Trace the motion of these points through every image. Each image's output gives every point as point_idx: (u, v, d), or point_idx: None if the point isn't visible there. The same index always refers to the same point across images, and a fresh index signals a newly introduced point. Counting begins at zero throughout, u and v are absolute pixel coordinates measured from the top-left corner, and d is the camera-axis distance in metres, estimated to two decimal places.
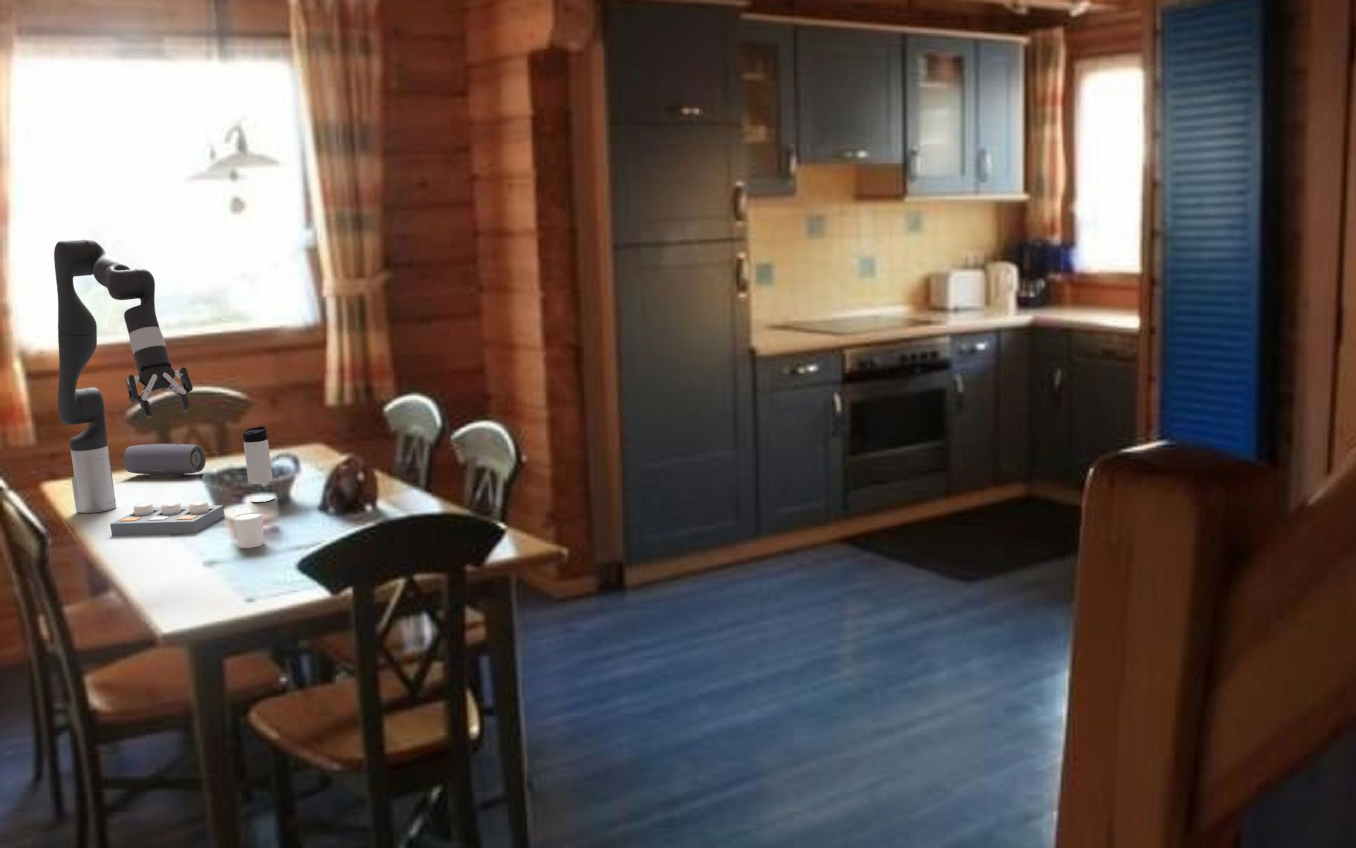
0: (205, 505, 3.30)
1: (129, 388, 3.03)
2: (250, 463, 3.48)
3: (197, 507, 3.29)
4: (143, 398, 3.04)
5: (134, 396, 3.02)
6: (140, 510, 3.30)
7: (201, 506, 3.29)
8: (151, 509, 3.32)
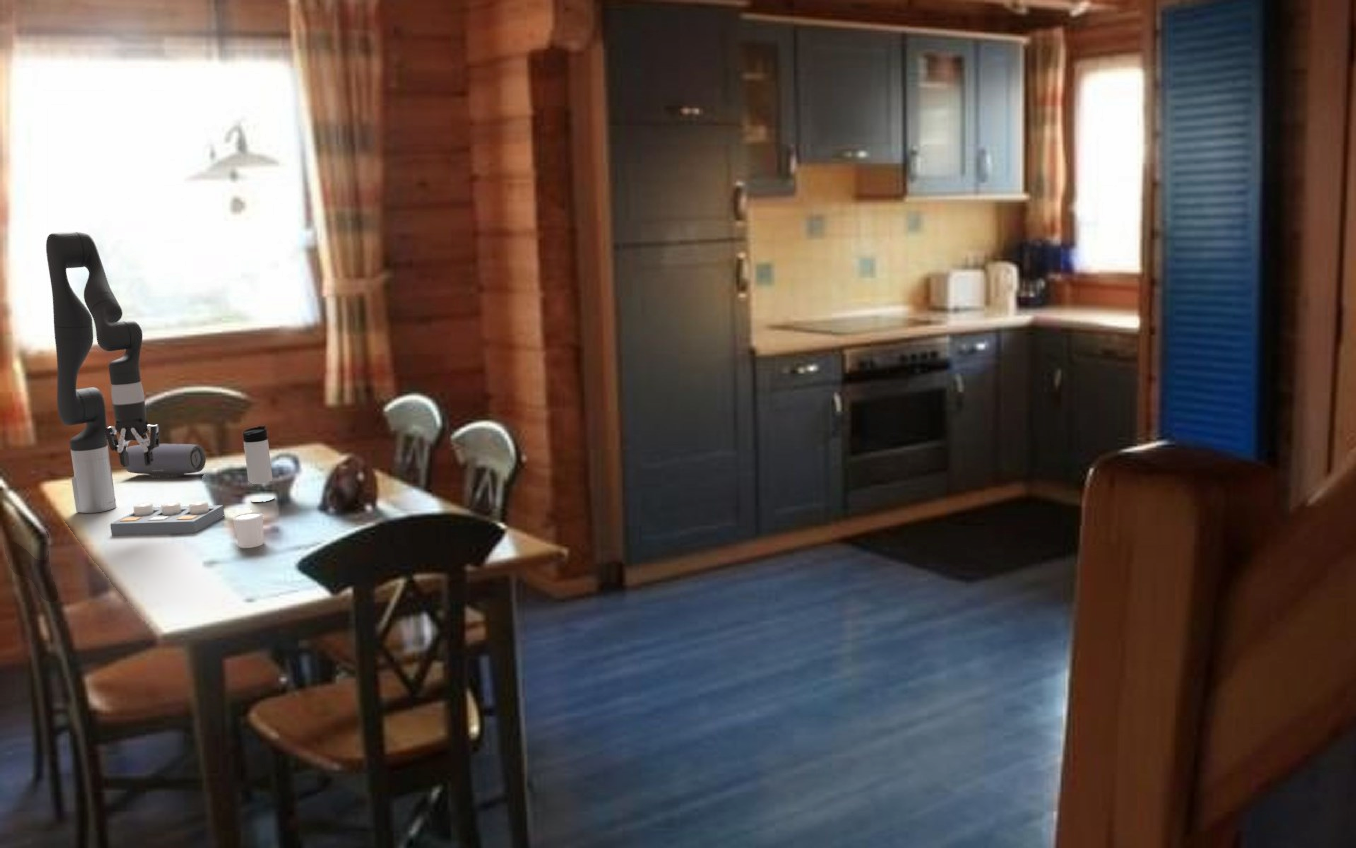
0: (205, 505, 3.30)
1: None
2: (250, 463, 3.48)
3: (197, 507, 3.29)
4: (118, 451, 3.29)
5: (111, 448, 3.29)
6: (140, 510, 3.30)
7: (201, 506, 3.29)
8: (151, 509, 3.32)
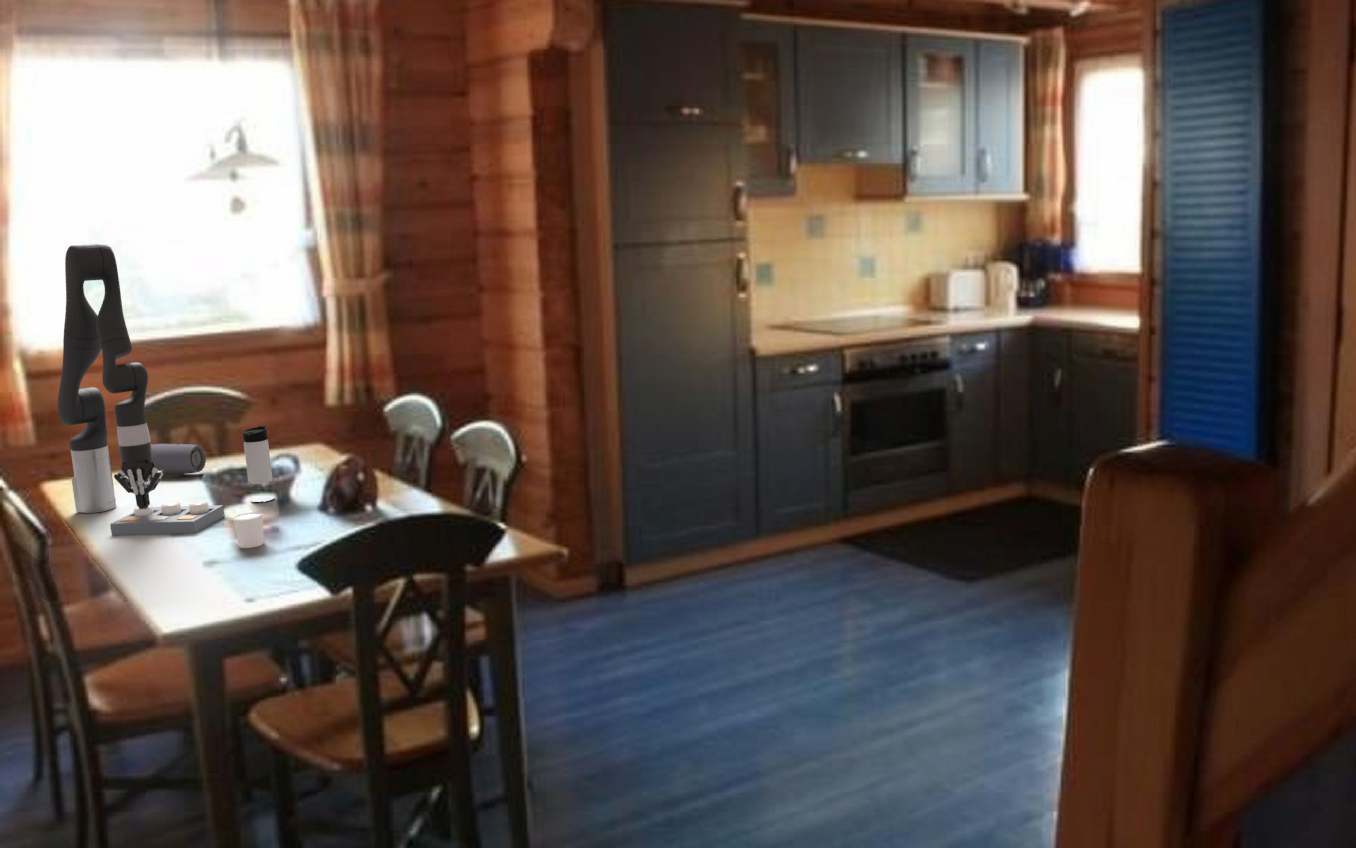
0: (205, 505, 3.30)
1: None
2: (250, 463, 3.48)
3: (197, 507, 3.29)
4: (135, 493, 3.31)
5: (128, 491, 3.31)
6: (140, 512, 3.31)
7: (201, 506, 3.29)
8: (151, 512, 3.33)
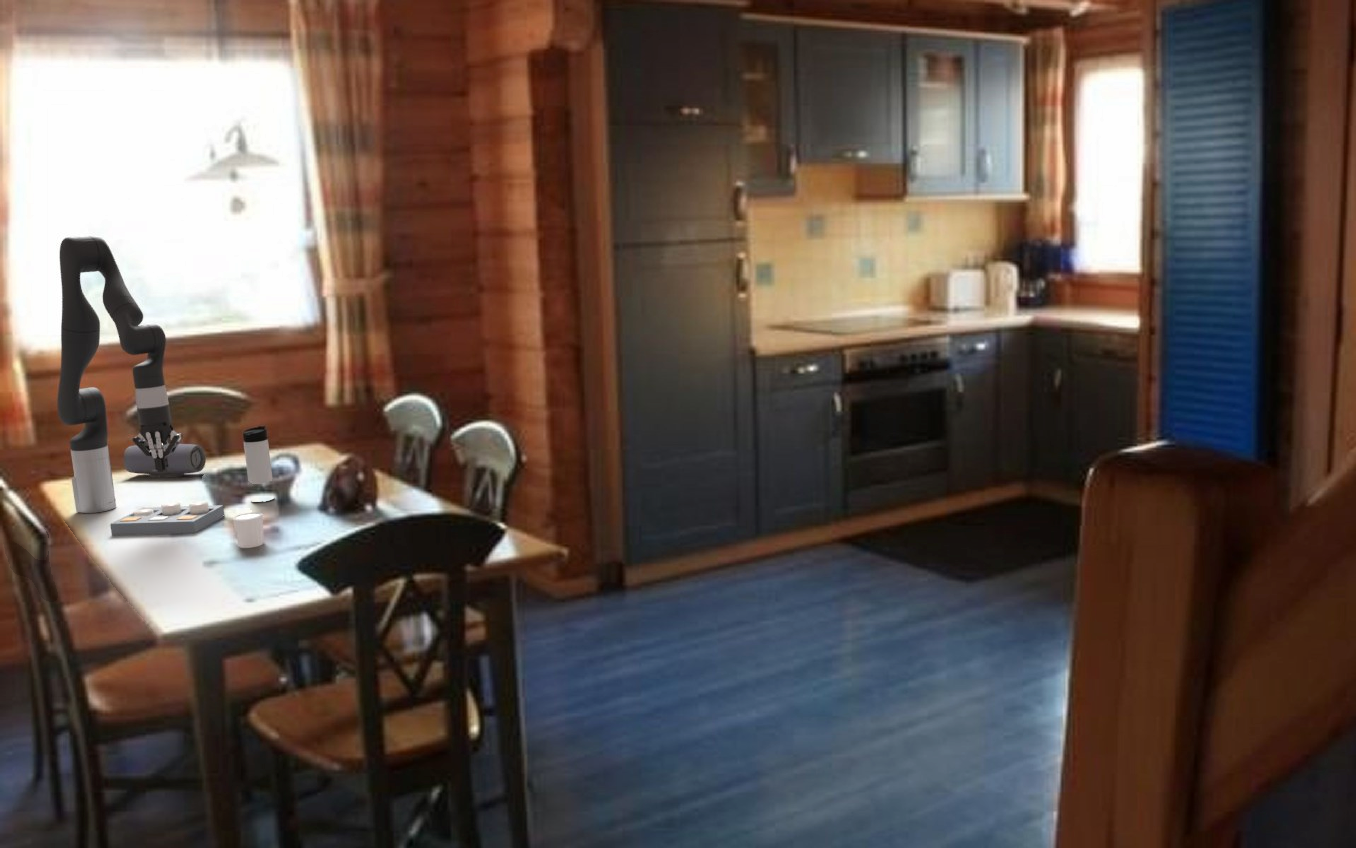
0: (205, 505, 3.30)
1: None
2: (250, 463, 3.48)
3: (197, 507, 3.29)
4: (154, 456, 3.28)
5: (146, 454, 3.28)
6: (141, 515, 3.31)
7: (201, 506, 3.29)
8: None
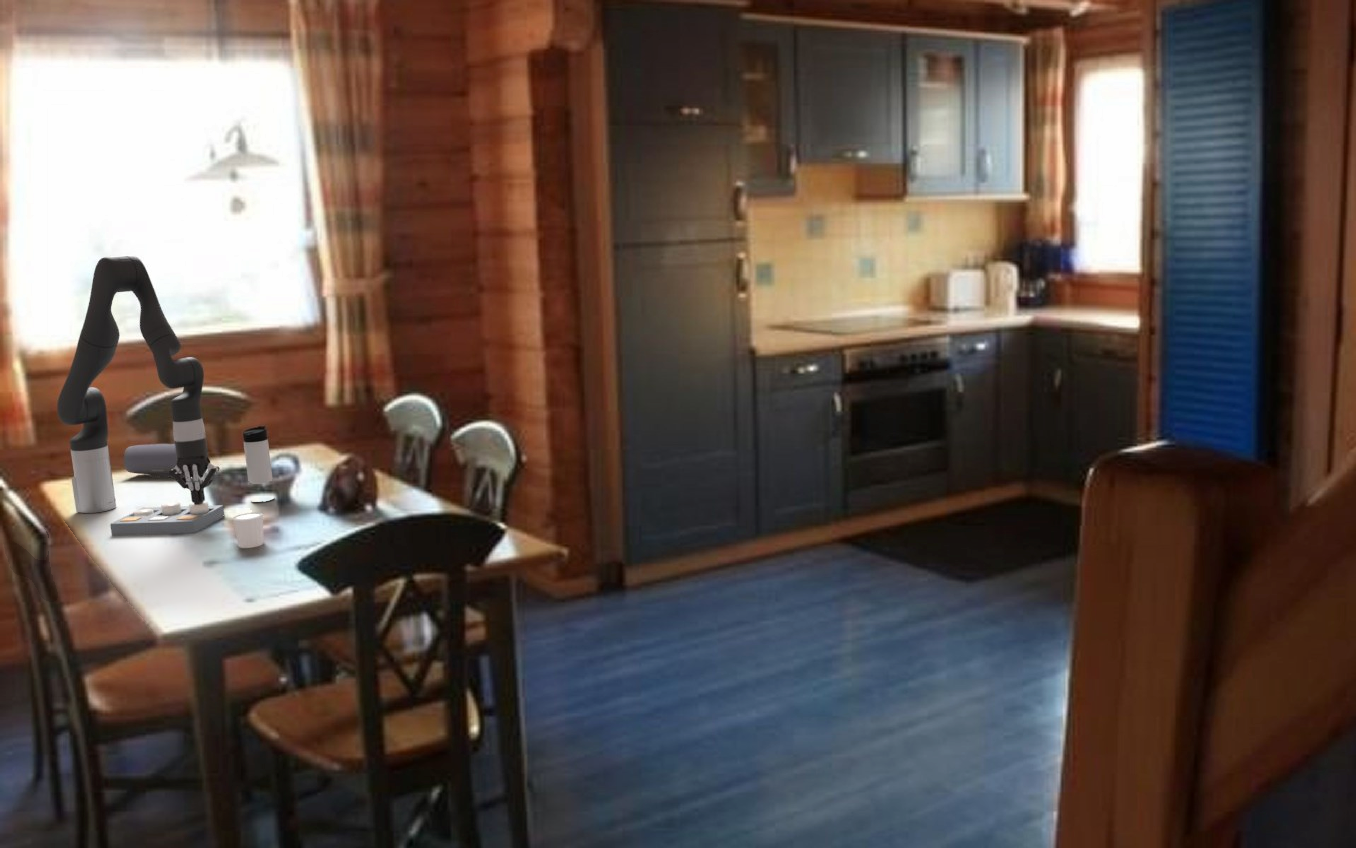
0: (205, 505, 3.30)
1: None
2: (250, 463, 3.48)
3: (197, 507, 3.29)
4: (190, 489, 3.29)
5: (183, 486, 3.29)
6: (141, 515, 3.31)
7: (201, 506, 3.29)
8: None
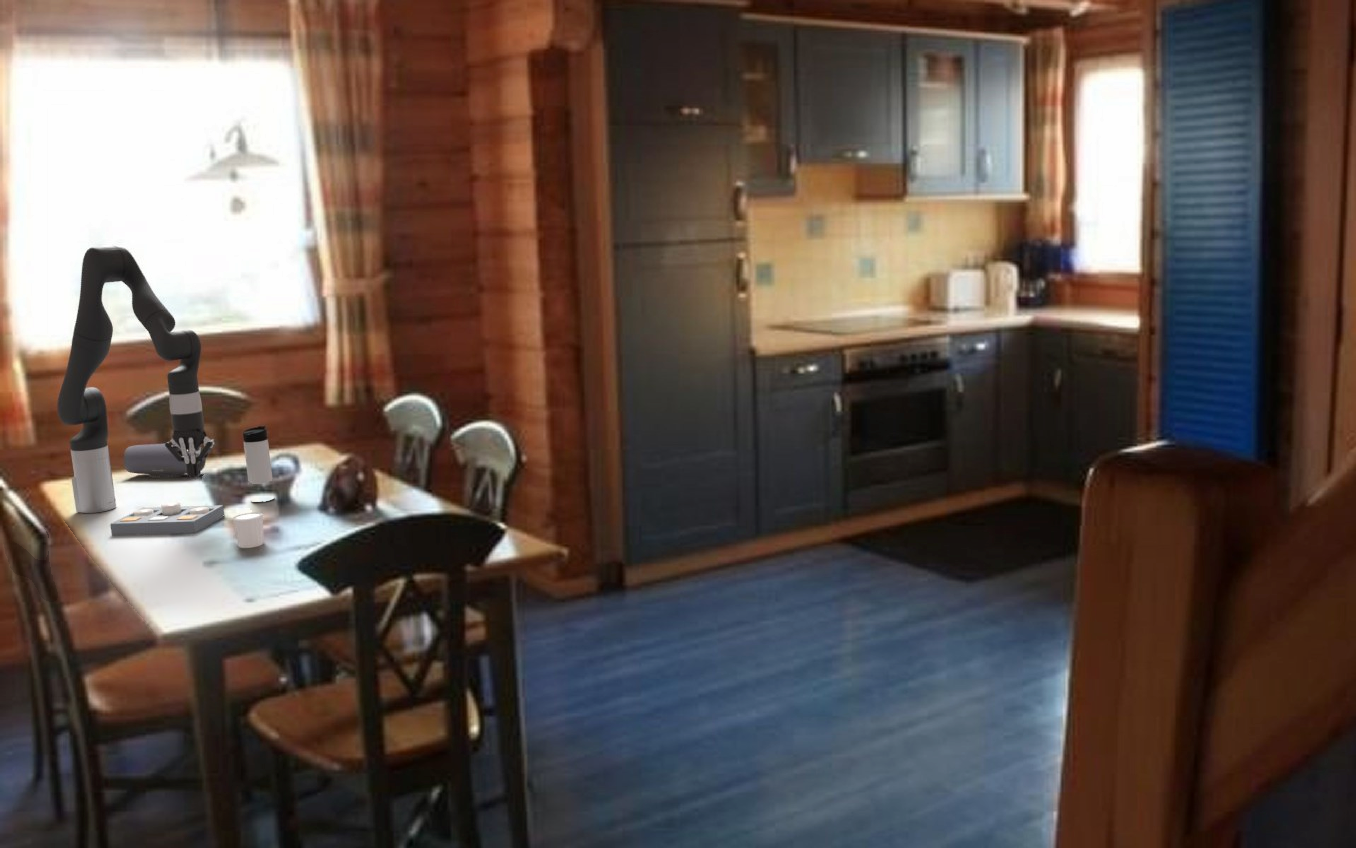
0: (206, 511, 3.30)
1: None
2: (250, 463, 3.48)
3: (198, 513, 3.29)
4: (186, 462, 3.28)
5: (179, 459, 3.28)
6: (141, 515, 3.31)
7: (202, 512, 3.29)
8: None
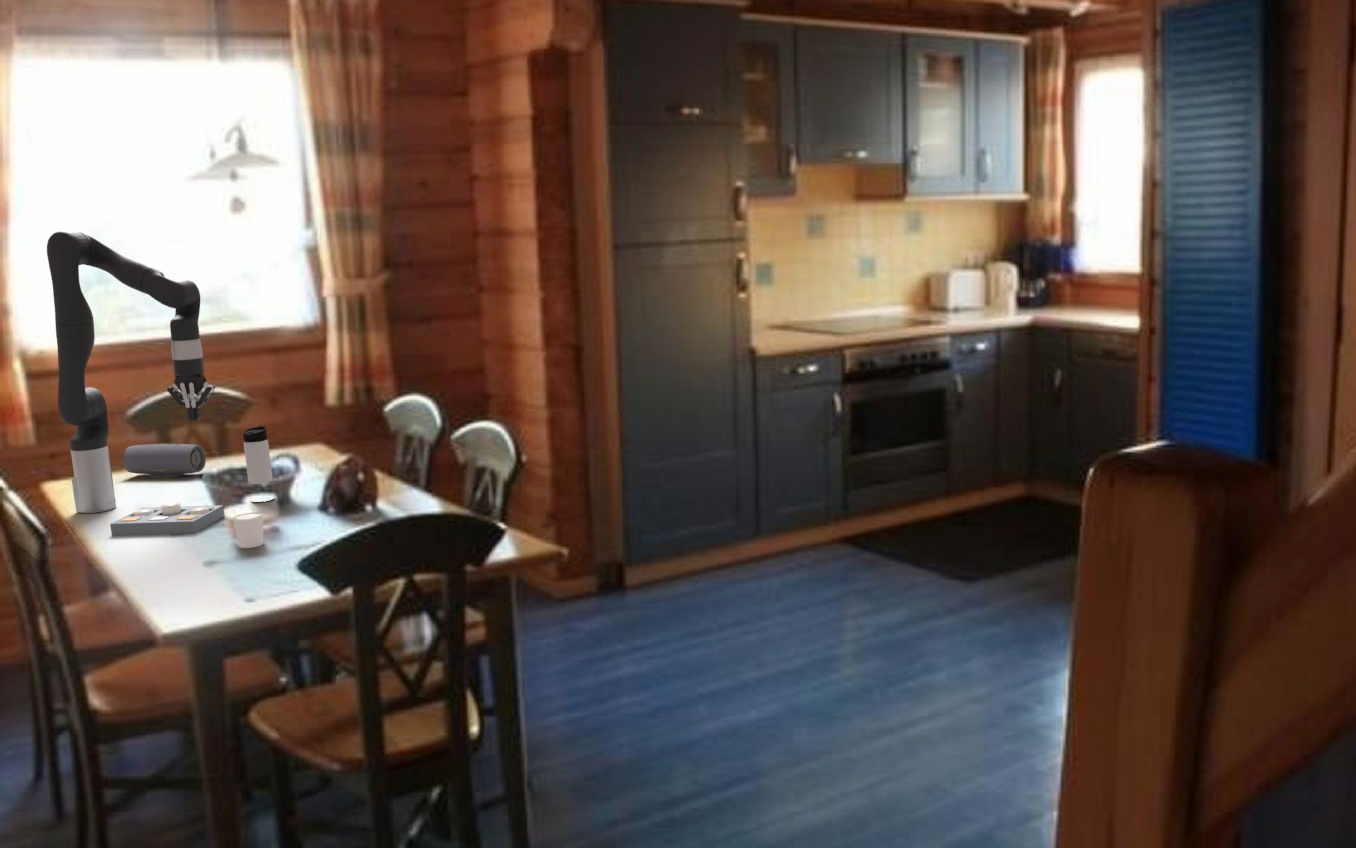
0: (206, 511, 3.30)
1: None
2: (250, 463, 3.48)
3: (198, 513, 3.29)
4: (187, 406, 3.44)
5: (180, 403, 3.44)
6: (141, 515, 3.31)
7: (202, 512, 3.29)
8: None
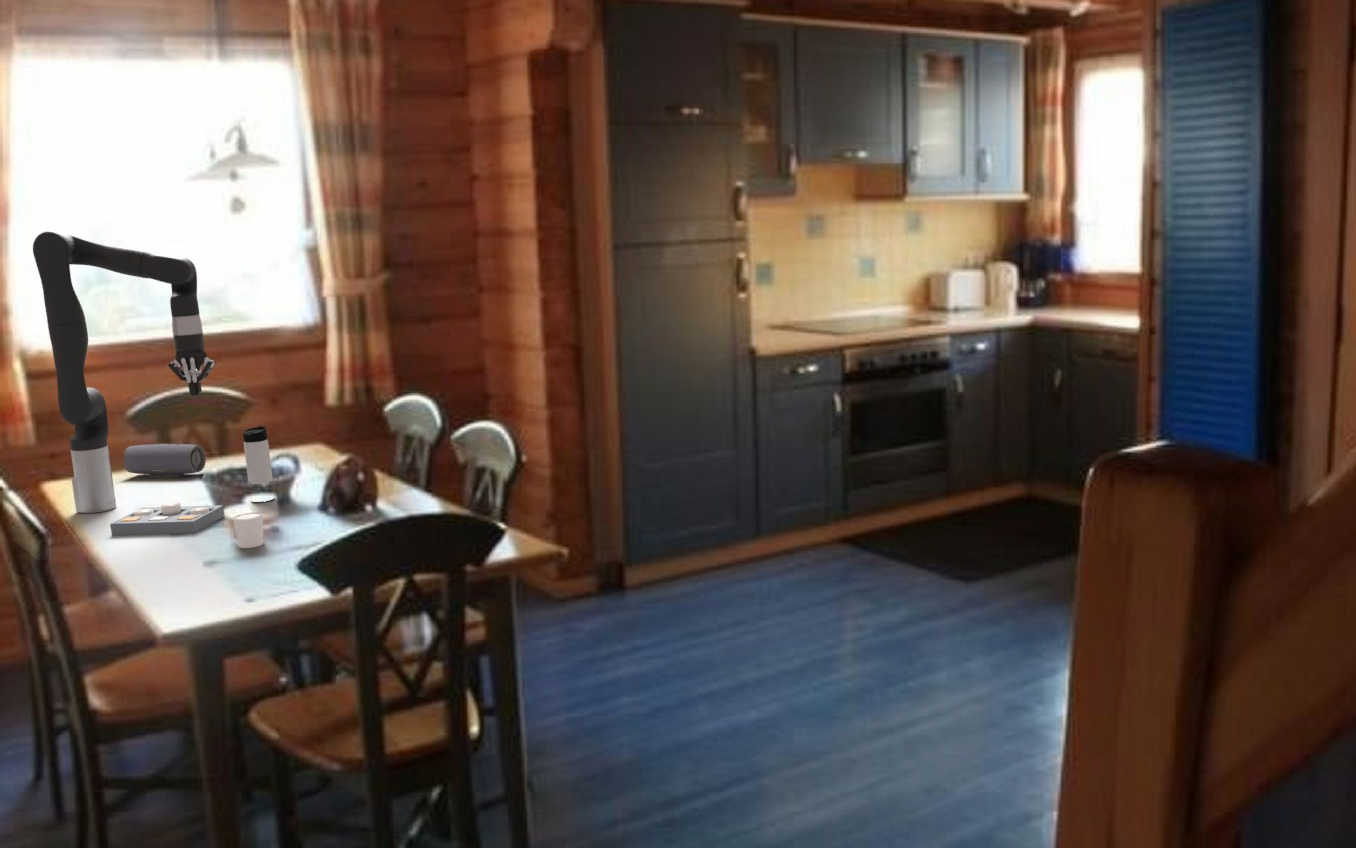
0: (206, 511, 3.30)
1: None
2: (250, 463, 3.48)
3: (198, 513, 3.29)
4: (188, 381, 3.51)
5: (181, 379, 3.51)
6: (141, 515, 3.31)
7: (202, 512, 3.29)
8: None
